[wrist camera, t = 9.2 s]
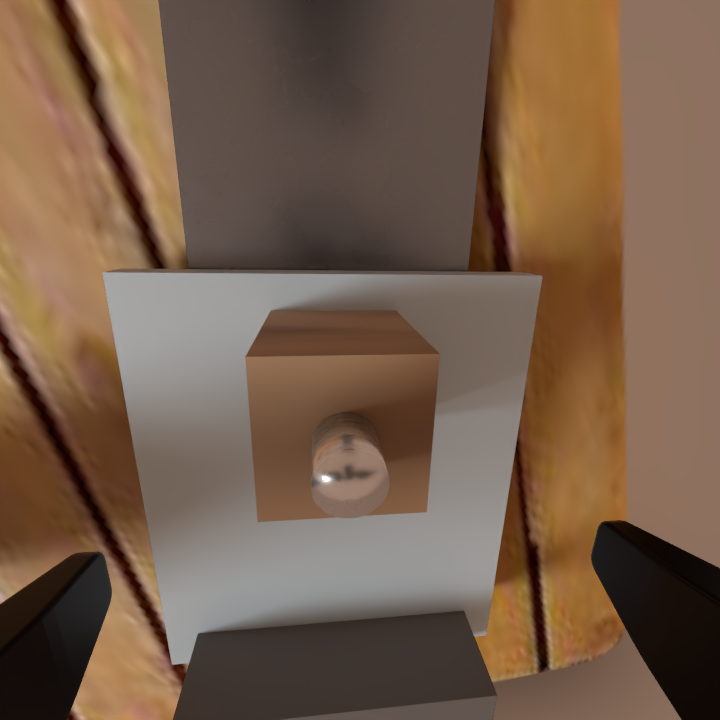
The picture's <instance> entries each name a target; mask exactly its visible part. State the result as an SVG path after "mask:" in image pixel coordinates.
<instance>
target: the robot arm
mask: <svg viewBox="0 0 720 720" xmlns="http://www.w3.org/2000/svg"><path fill="white" fill-rule="evenodd" d="M591 560H592V564H593V567H594V570H595V572H596V574H597V575H598V577H599V579H600V581H601V583H602V585H603V587H604V589H605V590H606V592H607V594H608V596H609V598H610V600H611V602H612V603H613V605H614V607H615V609H616V611H617V613H618V615H619V617H620V618H621V620H622V622H623V624H624V626H625V628H626V630H627V631H628V633H629V635H630V637H631V639H632V641H633V642H634V644H635V646H636V648H637V649H638V651H639V653H640V655H641V656H642V658H643V660H644V661H645V663H646V665H647V666H648V668H649V670H650V671H651V673H652V674H653V675H654V677H655V679H656V680H657V682H658V684H659V685H660V687H661V688H662V690H663V691H664V693H665V695H666V696H667V697H668V699H669V701H670V702H671V704H672V705H673V707H674V708H675V710H676V712H677V713H678V715H679V716H680V718H681V719H682V720H720V568H718V567H716V566H714V565H712V564H710V563H708V562H706V561H704V560H702V559H700V558H698V557H696V556H694V555H692V554H690V553H688V552H686V551H684V550H682V549H680V548H678V547H676V546H674V545H672V544H670V543H668V542H666V541H664V540H662V539H660V538H658V537H656V536H654V535H652V534H650V533H648V532H646V531H644V530H642V529H640V528H638V527H636V526H634V525H632V524H630V523H628V522H626V521H621V520H617V521H604V522H602V523H601V524H600V525H599V527H598V530H597V534H596V538H595V542H594V546H593V550H592V555H591ZM111 596H112V588H111V583H110V578H109V574H108V570H107V565H106V561H105V557H104V555H103V554H102V553H100V552H84V553H76V554H73V555H71V556H70V557H68V558H66V559H65V560H64V561H62V562H61V563H59V564H58V565H56V566H55V567H53V568H52V569H50V570H49V571H48V572H46V573H45V574H43V575H42V576H40V577H39V578H37V579H36V580H34V581H33V582H32V583H30V584H29V585H27V586H26V587H24V588H23V589H21V590H20V591H19V592H17V593H16V594H14V595H13V596H11V597H10V598H8V599H7V600H5V601H4V602H3V603H1V604H0V720H66V719H67V717H68V715H69V713H70V710H71V708H72V705H73V703H74V700H75V698H76V695H77V693H78V690H79V687H80V684H81V682H82V679H83V676H84V673H85V671H86V668H87V665H88V663H89V660H90V657H91V654H92V652H93V649H94V646H95V643H96V641H97V638H98V635H99V632H100V630H101V627H102V624H103V621H104V619H105V616H106V613H107V611H108V608H109V605H110V601H111Z"/></svg>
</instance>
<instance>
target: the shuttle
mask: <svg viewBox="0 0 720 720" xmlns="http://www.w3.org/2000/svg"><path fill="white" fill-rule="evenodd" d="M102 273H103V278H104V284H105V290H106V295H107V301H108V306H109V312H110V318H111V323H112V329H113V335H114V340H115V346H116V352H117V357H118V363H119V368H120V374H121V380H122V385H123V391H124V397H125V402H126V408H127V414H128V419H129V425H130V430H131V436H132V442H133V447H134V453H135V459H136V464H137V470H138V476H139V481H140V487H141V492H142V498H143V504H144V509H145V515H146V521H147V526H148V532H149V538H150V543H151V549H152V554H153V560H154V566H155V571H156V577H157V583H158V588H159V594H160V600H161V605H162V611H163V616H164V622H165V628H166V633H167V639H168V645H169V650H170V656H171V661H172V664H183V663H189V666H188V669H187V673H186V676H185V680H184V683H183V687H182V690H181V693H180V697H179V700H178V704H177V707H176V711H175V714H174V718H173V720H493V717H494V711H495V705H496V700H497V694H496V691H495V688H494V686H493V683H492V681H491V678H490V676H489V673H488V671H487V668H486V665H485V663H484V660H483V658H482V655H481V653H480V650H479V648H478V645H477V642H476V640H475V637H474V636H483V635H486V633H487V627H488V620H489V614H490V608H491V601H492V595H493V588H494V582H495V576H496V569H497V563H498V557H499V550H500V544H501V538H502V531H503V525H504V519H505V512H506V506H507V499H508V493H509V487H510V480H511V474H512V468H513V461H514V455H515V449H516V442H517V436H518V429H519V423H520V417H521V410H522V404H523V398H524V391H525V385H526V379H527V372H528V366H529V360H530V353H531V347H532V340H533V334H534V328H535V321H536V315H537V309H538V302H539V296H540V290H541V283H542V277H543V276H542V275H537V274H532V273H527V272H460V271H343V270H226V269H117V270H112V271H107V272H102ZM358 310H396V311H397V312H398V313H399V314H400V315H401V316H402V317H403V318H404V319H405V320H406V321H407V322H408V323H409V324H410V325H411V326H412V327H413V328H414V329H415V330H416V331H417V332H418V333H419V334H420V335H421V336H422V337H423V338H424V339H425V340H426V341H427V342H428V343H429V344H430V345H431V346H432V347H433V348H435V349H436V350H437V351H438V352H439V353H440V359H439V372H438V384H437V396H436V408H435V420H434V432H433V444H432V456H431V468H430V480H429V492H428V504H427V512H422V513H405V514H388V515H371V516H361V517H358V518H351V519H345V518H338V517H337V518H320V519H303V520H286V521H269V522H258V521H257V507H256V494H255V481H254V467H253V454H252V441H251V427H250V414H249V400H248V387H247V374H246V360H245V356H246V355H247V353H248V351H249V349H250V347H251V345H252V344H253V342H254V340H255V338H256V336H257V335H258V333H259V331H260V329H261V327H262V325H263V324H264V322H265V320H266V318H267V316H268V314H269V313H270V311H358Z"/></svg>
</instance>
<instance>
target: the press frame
mask: <svg viewBox="0 0 720 720" xmlns="http://www.w3.org/2000/svg"><path fill="white" fill-rule="evenodd" d="M494 6H495V0H159V9H160V18H161V27H162V36H163V45H164V54H165V63H166V72H167V81H168V90H169V98H170V107H171V116H172V125H173V134H174V143H175V152H176V161H177V170H178V179H179V188H180V197H181V206H182V215H183V224H184V233H185V242H186V251H187V260H188V268H189V269H226V270H343V271H460V272H468V266H469V256H470V246H471V236H472V226H473V216H474V206H475V196H476V186H477V176H478V166H479V156H480V146H481V136H482V126H483V116H484V106H485V96H486V86H487V76H488V66H489V56H490V46H491V36H492V26H493V16H494Z"/></svg>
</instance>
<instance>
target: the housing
mask: <svg viewBox="0 0 720 720" xmlns="http://www.w3.org/2000/svg"><path fill="white" fill-rule="evenodd" d="M439 359H440V353H439V352H438V351H437V350H436V349H435V348H433V347H432V346H431V345H430V344H429V343H428V342H427V341H426V340H425V339H424V338H423V337H422V336H421V335H420V334H419V333H418V332H417V331H416V330H415V329H414V328H413V327H412V326H411V325H410V324H409V323H408V322H407V321H406V320H405V319H404V318H403V317H402V316H401V315H400V314H399V313H398V312H397V311H396V310H358V311H270V313H269V314H268V316H267V318H266V320H265V322H264V324H263V325H262V327H261V329H260V331H259V333H258V335H257V336H256V338H255V340H254V342H253V344H252V345H251V347H250V349H249V351H248V353H247V355H246V356H245V360H246V374H247V387H248V400H249V414H250V427H251V441H252V454H253V467H254V481H255V494H256V507H257V521H258V522H269V521H286V520H303V519H320V518H337V517H338V518H345V519H351V518H358V517H361V516H371V515H388V514H405V513H422V512H427V504H428V492H429V480H430V468H431V456H432V444H433V432H434V420H435V408H436V396H437V384H438V372H439Z"/></svg>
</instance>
